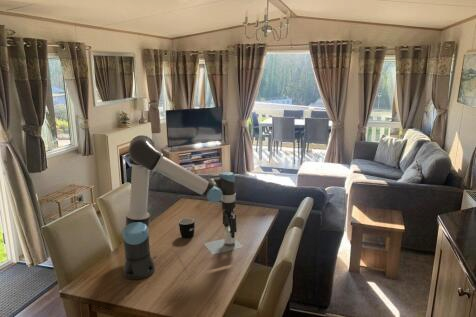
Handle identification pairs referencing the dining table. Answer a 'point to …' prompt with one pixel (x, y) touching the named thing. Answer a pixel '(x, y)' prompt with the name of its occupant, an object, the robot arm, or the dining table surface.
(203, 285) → the dining table surface
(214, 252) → the post board
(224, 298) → the dining table surface
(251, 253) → the dining table surface
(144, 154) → the robot arm
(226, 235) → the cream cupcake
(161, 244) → the dining table surface
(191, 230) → the mug
